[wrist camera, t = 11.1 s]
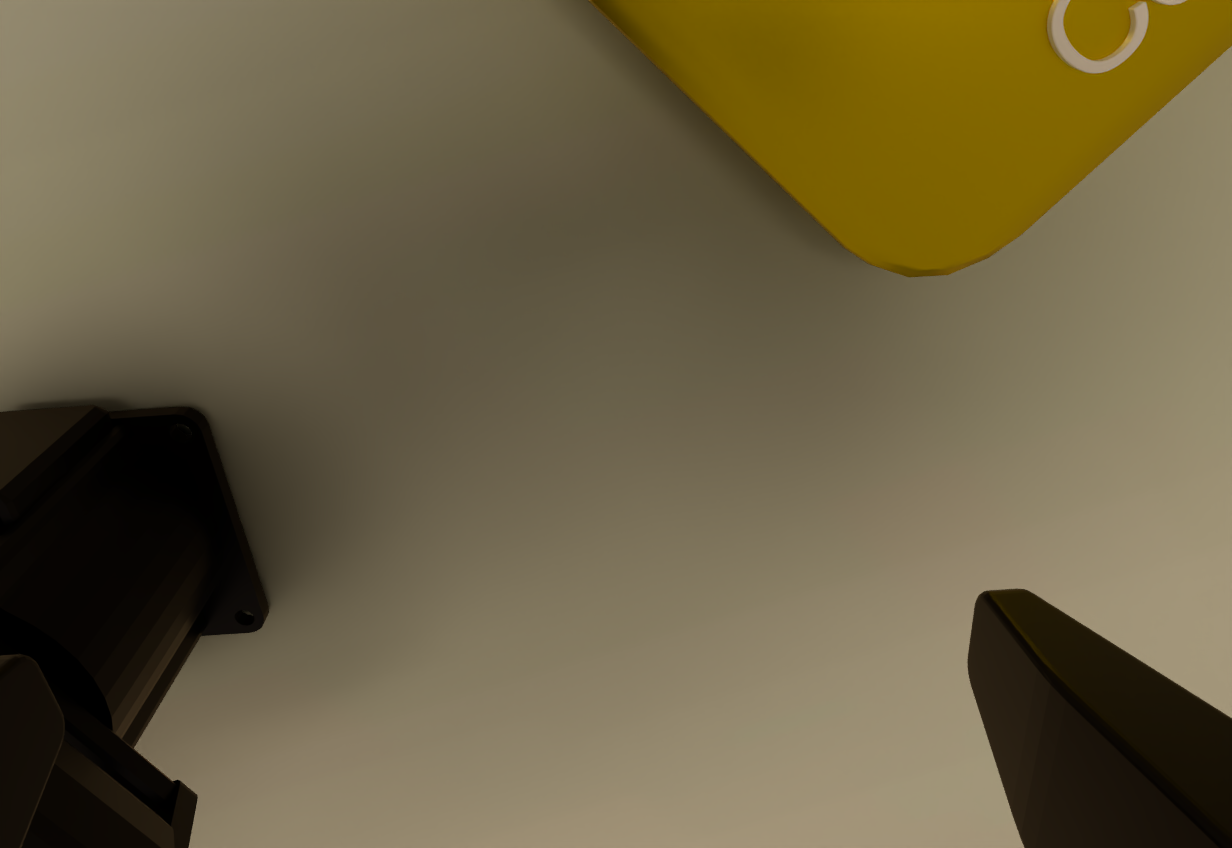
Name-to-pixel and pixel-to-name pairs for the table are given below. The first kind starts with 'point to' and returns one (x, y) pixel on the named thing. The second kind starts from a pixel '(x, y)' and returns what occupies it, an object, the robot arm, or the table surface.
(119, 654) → the robot arm
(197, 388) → the table surface
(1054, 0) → the element tile
